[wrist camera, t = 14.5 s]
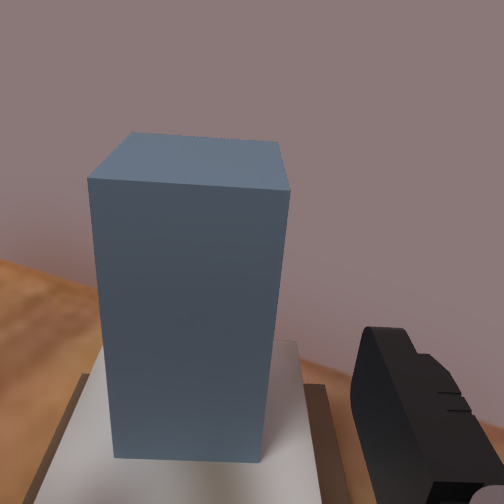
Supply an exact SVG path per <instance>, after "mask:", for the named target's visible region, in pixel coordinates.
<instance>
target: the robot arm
mask: <svg viewBox="0 0 504 504" xmlns="http://www.w3.org/2000/svg"><path fill="white" fill-rule="evenodd" d="M350 400H351V409H352V414H353V418H354V421H355V425H356V429H357V432H358V436H359V440H360V443H361V447H362V450H363V454H364V458H365V461H366V465H367V469H368V472H369V476H370V479H371V483H372V487H373V490H374V494H375V498H376V501H377V504H504V465H503V463H502V462H501V460H500V458H499V457H498V455H497V453H496V451H495V450H494V448H493V446H492V445H491V443H490V441H489V439H488V438H487V436H486V434H485V433H484V431H483V429H482V427H481V426H480V424H479V422H478V421H477V419H476V417H475V415H472V413H471V411H472V410H471V409H470V407H469V405H468V403H467V402H466V400H465V398H464V397H462V396H461V392H460V390H459V388H458V386H457V384H456V383H455V381H454V379H453V378H452V376H451V374H450V372H448V371H447V370H446V369H445V368H444V367H443V366H442V365H441V364H440V363H439V362H437V361H436V360H435V359H434V358H433V357H432V356H431V355H430V354H418V353H417V352H416V350H415V348H414V346H413V344H412V342H411V340H410V338H409V336H408V334H407V332H406V331H405V330H404V329H403V328H389V327H365V329H364V330H363V333H362V337H361V341H360V346H359V350H358V355H357V359H356V364H355V368H354V373H353V377H352V382H351V391H350Z"/></svg>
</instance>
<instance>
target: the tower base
mask: <svg viewBox="0 0 504 504" xmlns="http://www.w3.org/2000/svg"><path fill="white" fill-rule="evenodd" d="M23 504H350V500H349V495H348V490H347V486H346V481H345V476H344V472H343V467H342V462H341V458H340V453H339V449H338V444H337V439H336V435H335V430H334V425H333V421H332V416H331V411H330V407H329V402H328V397H327V393H326V388H325V385H320V384H303V380H302V374H301V367H300V361H299V355H298V349H297V342H296V341H287V340H273V348H272V356H271V365H270V374H269V382H268V391H267V400H266V408H265V417H264V426H263V434H262V443H261V452H260V460H259V463H234V462H206V461H178V460H150V459H122V458H114V454H113V444H112V433H111V423H110V412H109V402H108V391H107V381H106V370H105V360H104V349H103V346H102V348H101V350H100V352H99V355H98V357H97V359H96V362H95V364H94V366H93V369H92V371H91V373H90V374H82V375H81V377H80V379H79V382H78V384H77V386H76V388H75V390H74V393H73V395H72V397H71V399H70V401H69V403H68V406H67V408H66V410H65V412H64V414H63V416H62V419H61V421H60V423H59V425H58V427H57V430H56V432H55V434H54V436H53V438H52V440H51V443H50V445H49V447H48V449H47V451H46V453H45V456H44V458H43V460H42V462H41V464H40V467H39V469H38V471H37V473H36V475H35V477H34V480H33V482H32V484H31V486H30V488H29V490H28V493H27V495H26V497H25V499H24V501H23Z"/></svg>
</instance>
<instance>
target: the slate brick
mask: <svg viewBox="0 0 504 504" xmlns="http://www.w3.org/2000/svg"><path fill="white" fill-rule="evenodd" d="M87 181H88V191H89V201H90V212H91V222H92V233H93V244H94V254H95V265H96V275H97V286H98V296H99V307H100V317H101V328H102V339H103V349H104V360H105V370H106V381H107V391H108V402H109V412H110V423H111V433H112V444H113V454H114V458H122V459H150V460H178V461H206V462H234V463H259V460H260V452H261V443H262V434H263V426H264V417H265V408H266V400H267V391H268V382H269V374H270V365H271V356H272V348H273V339H274V330H275V321H276V313H277V304H278V295H279V287H280V278H281V269H282V261H283V252H284V243H285V235H286V226H287V217H288V209H289V200H290V191H291V190H290V187H289V183H288V179H287V175H286V172H285V168H284V164H283V160H282V157H281V153H280V149H279V145H278V142H268V141H254V140H253V141H252V140H239V139H223V138H209V137H194V136H180V135H166V134H151V133H136V132H132V133H131V134H130V135H129V136H128V137H127V138H126V139H125V140H124V141H123V142H122V143H121V144H120V145H119V146H118V147H117V148H116V149H115V150H114V151H113V152H112V153H111V154H110V155H109V156H108V157H107V158H106V159H105V160H104V161H103V162H102V163H101V164H100V165H99V166H98V167H97V169H95V170H94V171H93V172H92V173H91V174H90V175H89V176H88V178H87Z"/></svg>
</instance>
